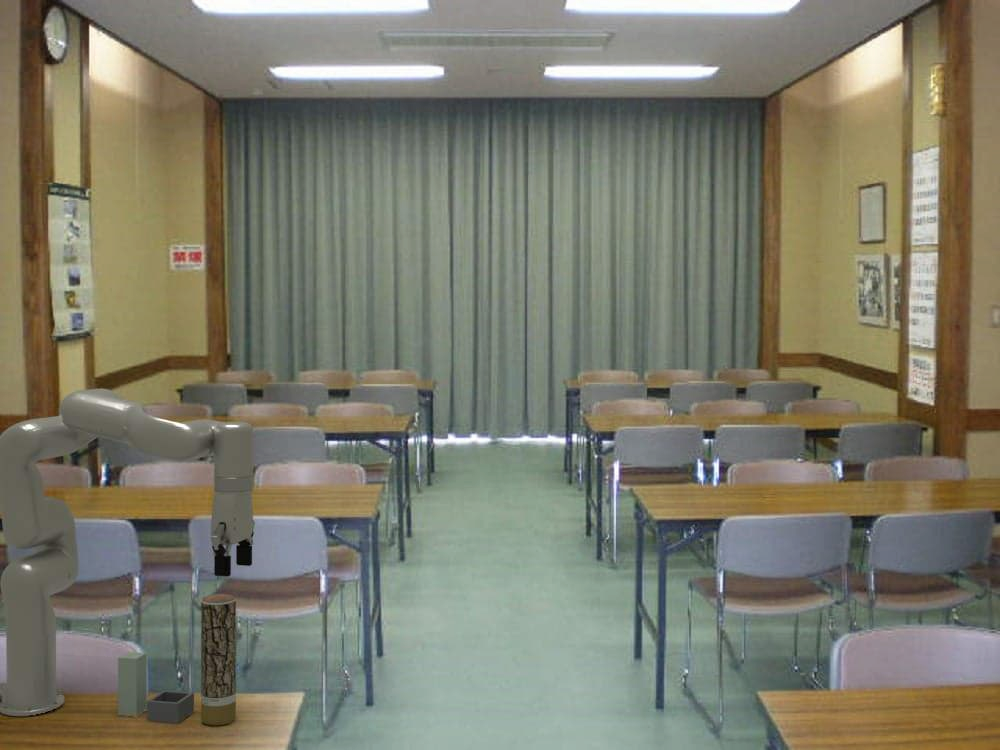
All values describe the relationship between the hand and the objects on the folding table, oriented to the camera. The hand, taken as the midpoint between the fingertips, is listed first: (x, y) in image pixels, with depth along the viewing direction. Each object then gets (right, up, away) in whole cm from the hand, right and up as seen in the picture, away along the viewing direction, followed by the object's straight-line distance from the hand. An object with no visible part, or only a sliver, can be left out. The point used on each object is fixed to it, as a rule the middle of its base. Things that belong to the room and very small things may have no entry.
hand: (233, 570), depth 219 cm
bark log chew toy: (-4, -31, +4) cm, 32 cm away
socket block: (-14, -31, +6) cm, 34 cm away
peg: (-22, -31, +8) cm, 39 cm away
